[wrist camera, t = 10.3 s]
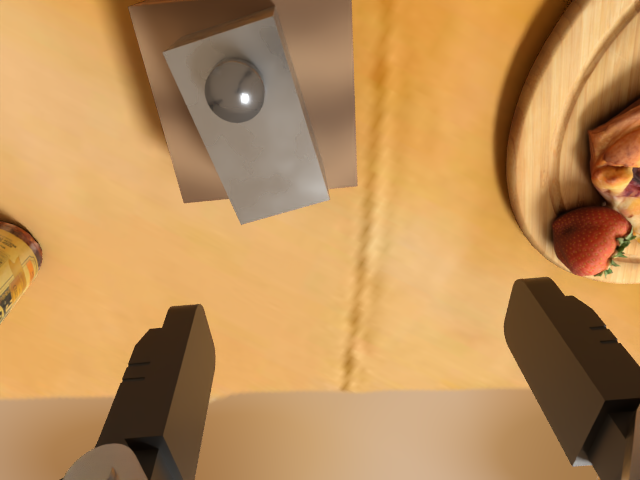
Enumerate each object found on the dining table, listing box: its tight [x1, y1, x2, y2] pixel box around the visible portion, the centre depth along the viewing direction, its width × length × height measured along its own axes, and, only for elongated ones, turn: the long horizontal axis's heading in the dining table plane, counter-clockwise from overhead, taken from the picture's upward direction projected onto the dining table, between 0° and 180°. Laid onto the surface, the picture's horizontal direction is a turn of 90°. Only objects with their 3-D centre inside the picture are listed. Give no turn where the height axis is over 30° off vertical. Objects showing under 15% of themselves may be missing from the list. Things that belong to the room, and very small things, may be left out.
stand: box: [128, 0, 357, 203], centre depth 29 cm, size 12×12×5 cm
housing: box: [162, 6, 330, 225], centre depth 24 cm, size 10×6×6 cm, turn 16°
